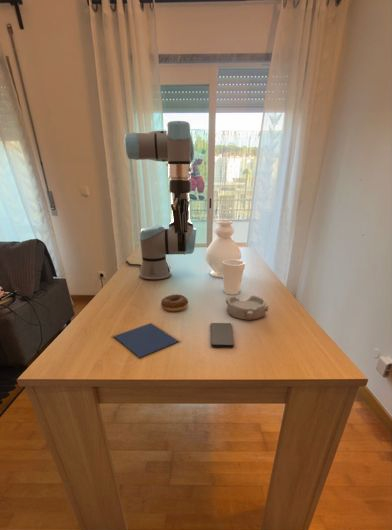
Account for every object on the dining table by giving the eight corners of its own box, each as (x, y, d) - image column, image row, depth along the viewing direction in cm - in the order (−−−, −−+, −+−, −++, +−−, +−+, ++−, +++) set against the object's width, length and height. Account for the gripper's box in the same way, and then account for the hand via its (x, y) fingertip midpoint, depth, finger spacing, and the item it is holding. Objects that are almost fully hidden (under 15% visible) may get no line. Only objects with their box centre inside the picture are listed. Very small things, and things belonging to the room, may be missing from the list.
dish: (220, 309, 109) (221, 297, 107) (251, 303, 114) (252, 291, 111) (240, 325, 98) (241, 311, 95) (273, 318, 103) (275, 305, 100)
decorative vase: (230, 267, 156) (233, 218, 143) (245, 277, 142) (250, 223, 128) (200, 270, 151) (200, 219, 138) (212, 281, 137) (213, 225, 124)
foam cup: (241, 296, 120) (244, 266, 113) (219, 295, 122) (221, 264, 115) (242, 288, 128) (245, 259, 121) (222, 287, 130) (223, 258, 123)
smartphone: (230, 322, 98) (234, 345, 85) (230, 325, 98) (233, 347, 85) (210, 322, 98) (211, 344, 85) (210, 324, 98) (210, 347, 85)
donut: (189, 312, 107) (188, 302, 105) (161, 313, 106) (160, 303, 104) (187, 301, 116) (187, 292, 114) (161, 302, 115) (161, 293, 113)
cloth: (113, 337, 91) (113, 336, 91) (150, 324, 99) (150, 323, 99) (139, 358, 81) (139, 357, 81) (178, 341, 89) (178, 341, 88)
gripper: (184, 180, 90) (185, 255, 102) (196, 179, 100) (196, 247, 113) (162, 179, 92) (166, 254, 104) (176, 179, 102) (178, 246, 115)
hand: (181, 250), depth 109 cm, fingers closed
